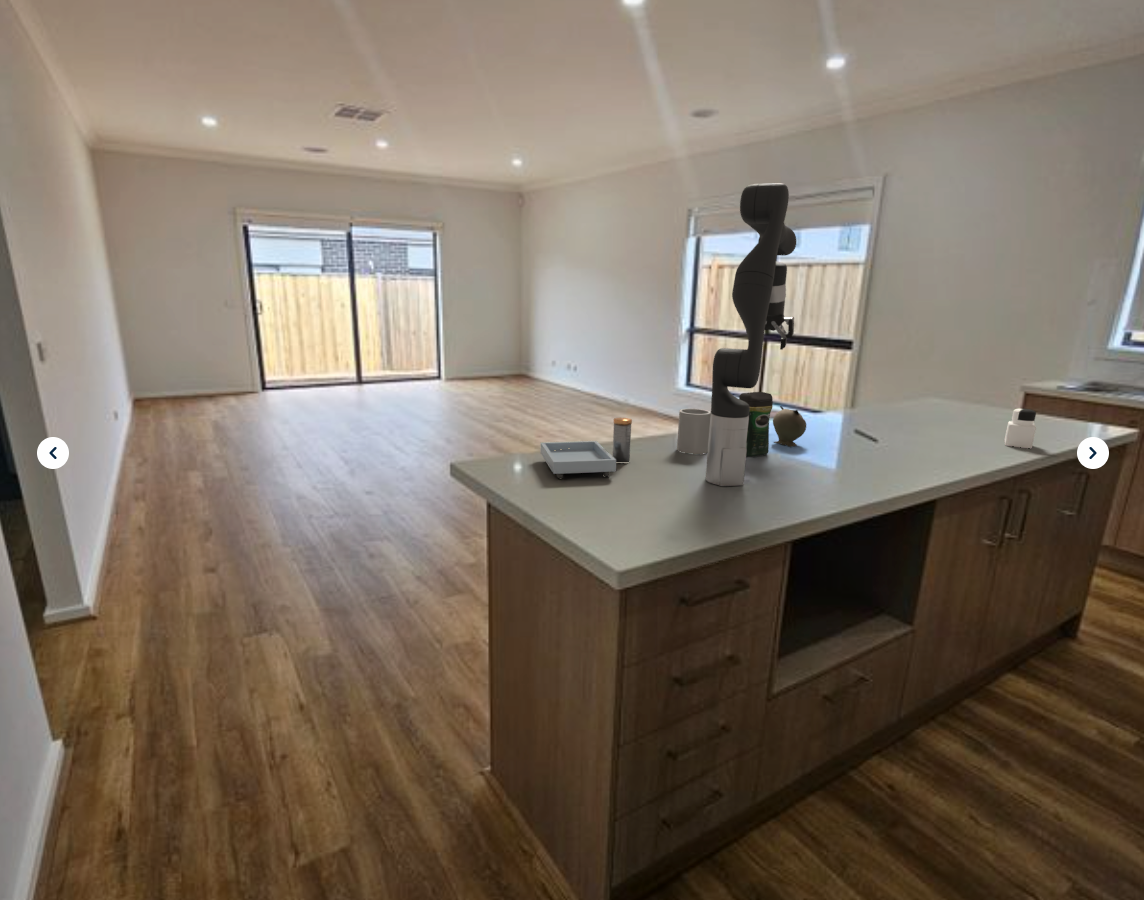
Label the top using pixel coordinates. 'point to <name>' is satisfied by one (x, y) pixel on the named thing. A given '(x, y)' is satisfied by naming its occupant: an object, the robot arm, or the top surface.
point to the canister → (622, 439)
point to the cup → (693, 431)
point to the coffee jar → (758, 422)
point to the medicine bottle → (1021, 429)
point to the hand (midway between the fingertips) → (768, 347)
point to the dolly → (577, 457)
